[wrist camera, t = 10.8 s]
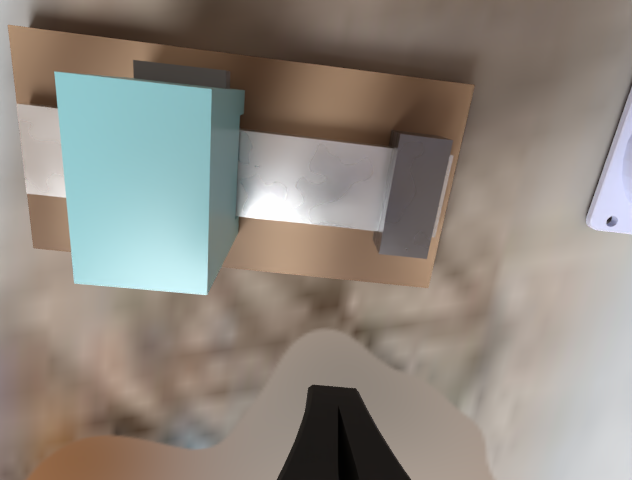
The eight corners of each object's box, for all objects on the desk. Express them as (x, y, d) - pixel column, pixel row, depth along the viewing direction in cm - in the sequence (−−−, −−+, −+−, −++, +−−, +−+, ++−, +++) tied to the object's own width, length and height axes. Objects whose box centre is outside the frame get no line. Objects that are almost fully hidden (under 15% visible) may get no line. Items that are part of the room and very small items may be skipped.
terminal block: (245, 74, 16) (212, 64, 11) (238, 233, 18) (207, 294, 13) (142, 62, 16) (51, 46, 10) (146, 224, 18) (74, 283, 13)
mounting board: (464, 85, 18) (474, 85, 17) (421, 277, 21) (428, 287, 20) (28, 29, 17) (7, 24, 16) (49, 239, 20) (33, 248, 19)
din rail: (450, 137, 17) (466, 141, 16) (427, 245, 19) (438, 260, 17) (27, 85, 16) (-5, 85, 15) (40, 203, 18) (12, 215, 16)
